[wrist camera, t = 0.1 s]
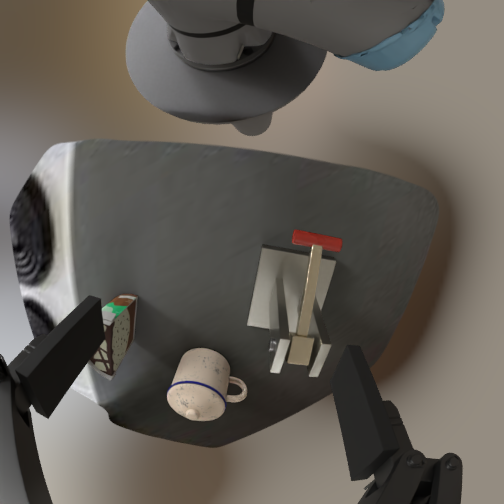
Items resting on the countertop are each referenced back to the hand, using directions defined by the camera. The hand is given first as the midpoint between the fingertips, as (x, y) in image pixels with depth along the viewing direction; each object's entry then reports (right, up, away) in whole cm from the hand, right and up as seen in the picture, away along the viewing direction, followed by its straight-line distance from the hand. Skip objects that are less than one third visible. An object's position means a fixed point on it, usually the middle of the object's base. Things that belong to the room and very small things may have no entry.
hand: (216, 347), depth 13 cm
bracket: (+7, -1, +25) cm, 26 cm away
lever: (+7, 0, +15) cm, 17 cm away
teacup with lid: (-5, -15, +31) cm, 35 cm away
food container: (-20, -5, +29) cm, 35 cm away
